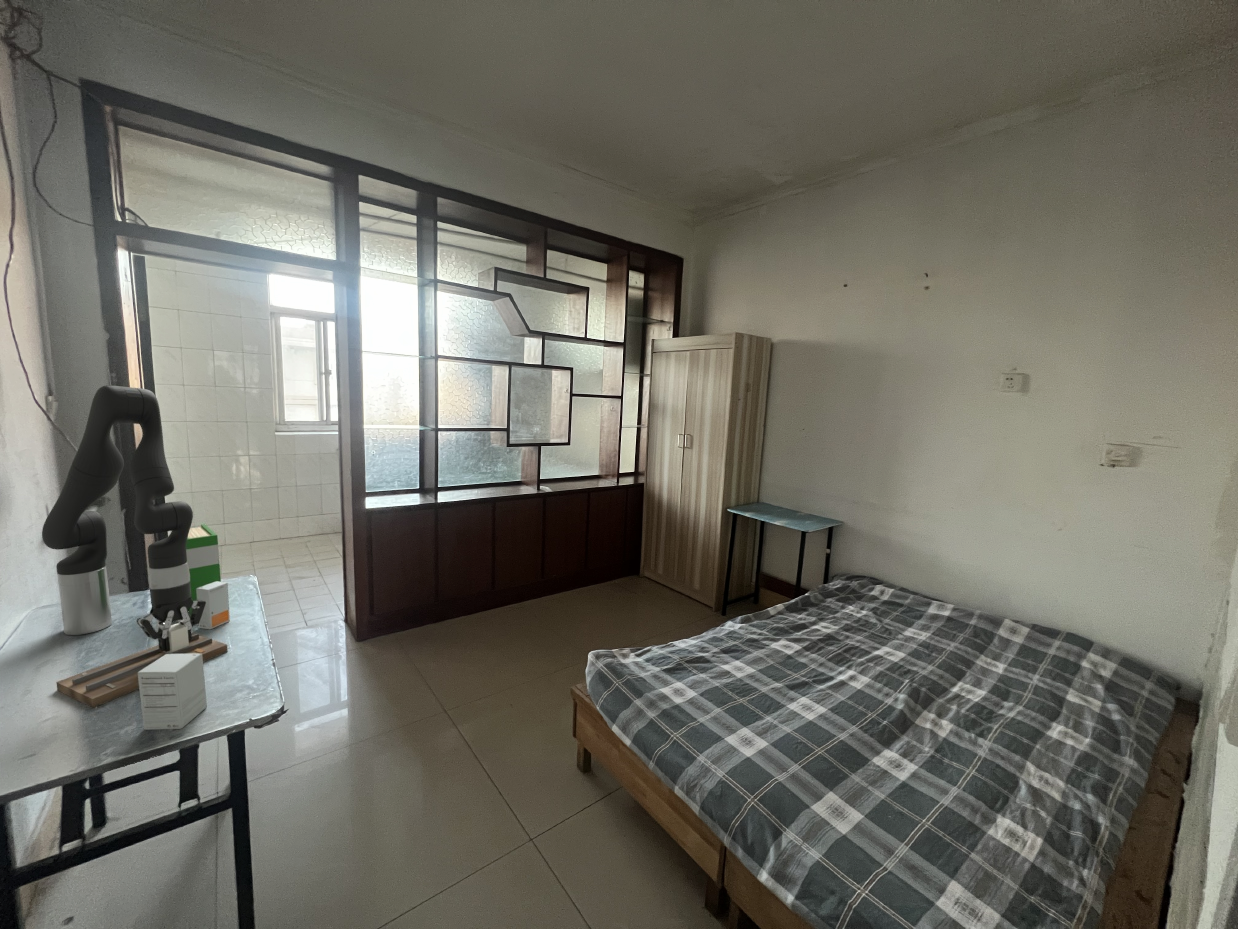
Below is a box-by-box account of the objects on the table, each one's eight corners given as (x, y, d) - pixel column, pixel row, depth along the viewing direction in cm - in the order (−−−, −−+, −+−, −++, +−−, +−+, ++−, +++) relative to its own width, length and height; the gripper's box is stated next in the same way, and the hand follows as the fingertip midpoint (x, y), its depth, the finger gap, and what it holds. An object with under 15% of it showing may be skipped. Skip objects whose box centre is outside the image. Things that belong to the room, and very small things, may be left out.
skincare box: (210, 630, 140) (207, 590, 139) (198, 628, 141) (195, 588, 140) (231, 621, 146) (228, 582, 145) (219, 619, 147) (216, 580, 146)
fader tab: (163, 651, 124) (161, 628, 123) (179, 645, 127) (177, 623, 126) (172, 655, 123) (170, 632, 122) (189, 648, 126) (187, 626, 125)
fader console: (57, 690, 111) (55, 677, 110) (192, 639, 135) (191, 628, 134) (93, 707, 105) (91, 693, 105) (227, 651, 129) (226, 640, 129)
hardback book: (180, 600, 159) (174, 528, 156) (210, 594, 165) (204, 524, 162) (191, 617, 148) (185, 539, 145) (222, 609, 153) (217, 535, 150)
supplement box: (171, 708, 106) (166, 652, 104) (208, 707, 107) (203, 652, 105) (141, 730, 99) (135, 672, 97) (181, 729, 100) (176, 671, 98)
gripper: (194, 570, 130) (199, 632, 133) (124, 589, 117) (131, 656, 120) (211, 575, 128) (216, 638, 130) (142, 594, 115) (149, 664, 117)
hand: (175, 646), depth 125 cm, fingers closed on fader tab, 3 cm apart
